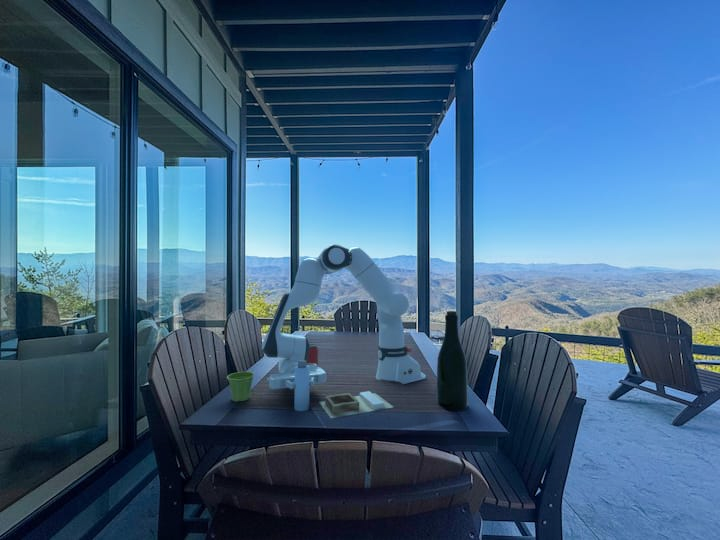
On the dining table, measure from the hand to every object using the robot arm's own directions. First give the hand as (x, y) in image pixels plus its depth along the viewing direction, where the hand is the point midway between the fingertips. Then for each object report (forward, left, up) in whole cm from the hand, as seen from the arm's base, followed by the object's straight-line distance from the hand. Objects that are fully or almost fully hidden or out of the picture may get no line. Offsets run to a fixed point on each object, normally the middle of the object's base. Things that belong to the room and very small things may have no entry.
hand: (302, 385), depth 109 cm
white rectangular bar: (-23, +6, -7) cm, 25 cm away
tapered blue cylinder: (0, -1, -8) cm, 8 cm away
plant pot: (+19, -18, -8) cm, 27 cm away
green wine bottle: (-49, +17, -8) cm, 52 cm away
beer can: (-14, -44, -8) cm, 47 cm away
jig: (-17, +6, -8) cm, 20 cm away
